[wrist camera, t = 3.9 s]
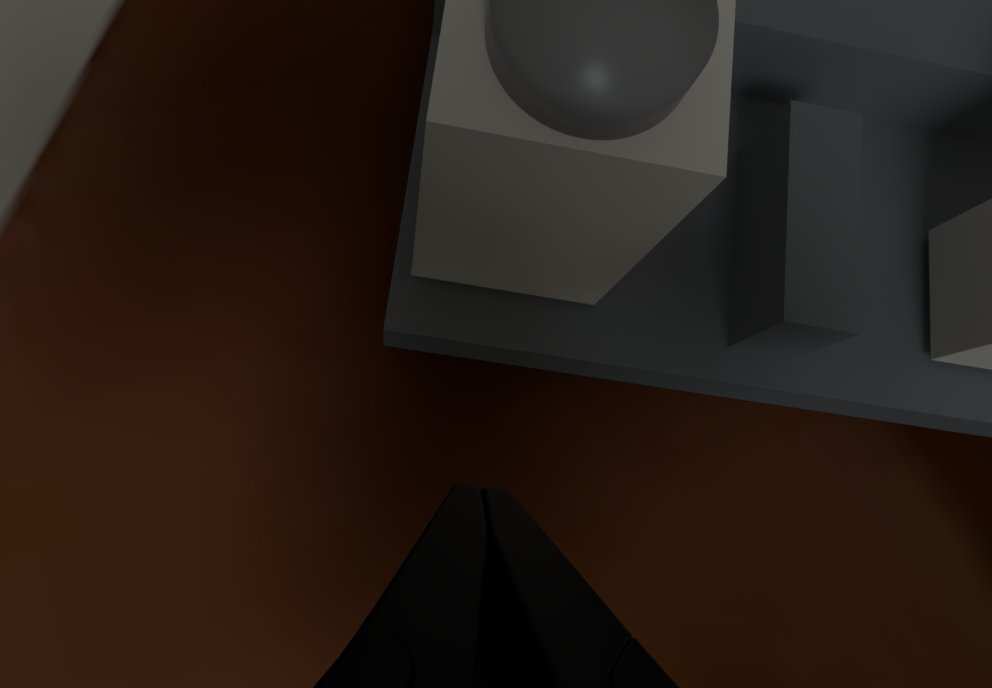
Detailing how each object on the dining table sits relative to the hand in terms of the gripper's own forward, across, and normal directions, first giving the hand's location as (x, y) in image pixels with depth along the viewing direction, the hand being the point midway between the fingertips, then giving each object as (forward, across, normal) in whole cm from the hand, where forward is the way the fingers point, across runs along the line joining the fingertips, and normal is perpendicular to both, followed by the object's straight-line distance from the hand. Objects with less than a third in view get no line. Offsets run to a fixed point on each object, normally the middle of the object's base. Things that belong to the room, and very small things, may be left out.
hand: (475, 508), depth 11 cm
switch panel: (+14, +9, 0) cm, 16 cm away
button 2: (+11, +1, 0) cm, 11 cm away
